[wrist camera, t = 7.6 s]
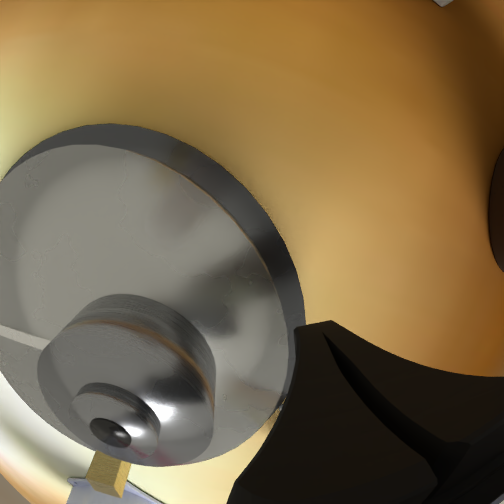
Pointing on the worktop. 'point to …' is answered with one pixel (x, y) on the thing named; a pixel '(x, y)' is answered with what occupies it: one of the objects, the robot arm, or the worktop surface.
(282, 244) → the turntable base
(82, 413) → the cover
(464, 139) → the worktop surface
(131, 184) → the turntable
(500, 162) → the olive oil
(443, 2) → the supplement box
